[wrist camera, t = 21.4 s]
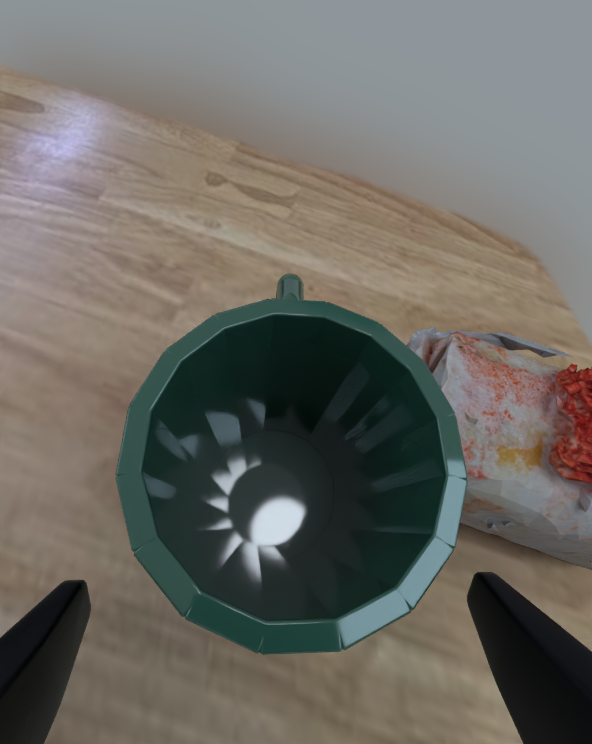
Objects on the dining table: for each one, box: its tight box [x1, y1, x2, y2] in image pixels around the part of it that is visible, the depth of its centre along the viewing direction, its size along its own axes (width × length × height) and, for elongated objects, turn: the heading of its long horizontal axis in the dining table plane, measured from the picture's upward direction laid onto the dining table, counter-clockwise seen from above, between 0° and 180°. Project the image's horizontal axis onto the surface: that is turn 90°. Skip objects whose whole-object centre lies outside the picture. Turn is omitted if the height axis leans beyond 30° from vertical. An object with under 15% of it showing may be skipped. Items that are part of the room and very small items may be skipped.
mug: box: [116, 274, 468, 655], centre depth 14 cm, size 10×7×12 cm
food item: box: [406, 327, 592, 570], centre depth 16 cm, size 14×8×10 cm, turn 71°
